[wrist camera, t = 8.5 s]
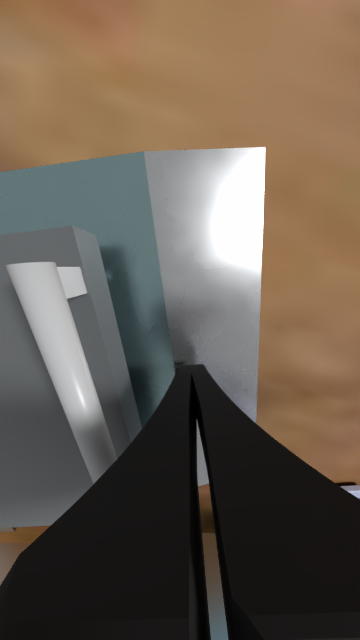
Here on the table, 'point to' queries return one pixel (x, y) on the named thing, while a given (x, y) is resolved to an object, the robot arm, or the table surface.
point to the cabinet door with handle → (58, 375)
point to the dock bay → (165, 258)
